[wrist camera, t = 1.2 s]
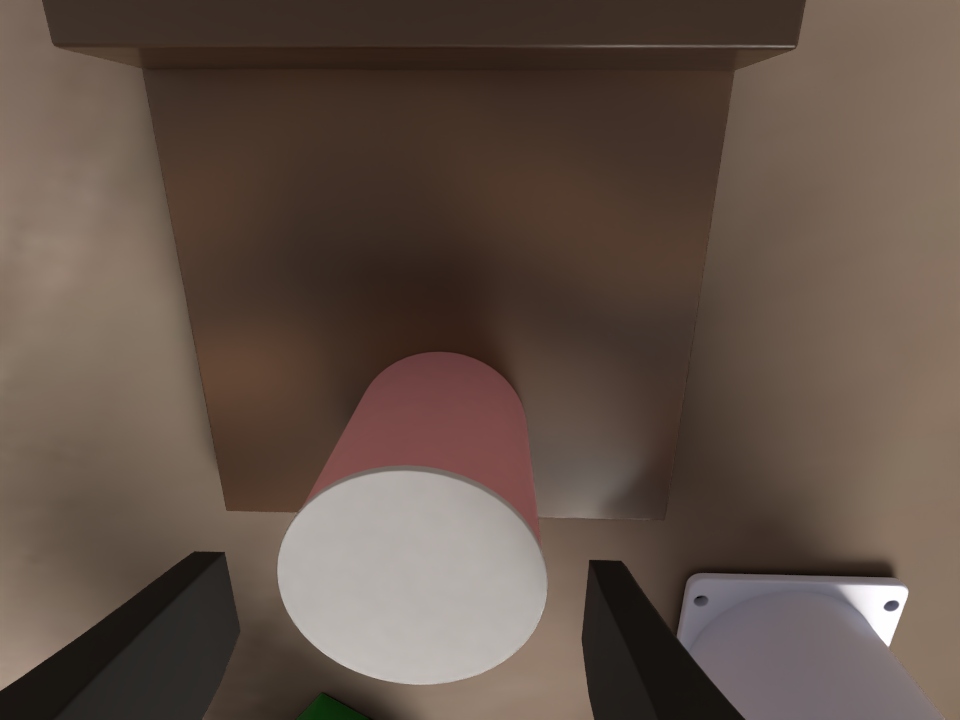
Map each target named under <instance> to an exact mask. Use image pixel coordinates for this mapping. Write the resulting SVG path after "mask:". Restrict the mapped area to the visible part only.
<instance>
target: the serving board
mask: <svg viewBox="0 0 960 720" xmlns="http://www.w3.org/2000/svg"><path fill="white" fill-rule="evenodd" d="M42 2H43V6H44V11H45V15H46V19H47V23H48V27H49V31H50V36H51V40H52V43H53V44H54V46H56V47H58V48H61V49H65V50H69V51H74V52H78V53H82V54H86V55H90V56H94V57H98V58H102V59H106V60H110V61H114V62H118V63H122V64H126V65H130V66H135V67H139V68H142V70H143V75H144V80H145V86H146V91H147V96H148V101H149V107H150V112H151V117H152V122H153V128H154V133H155V138H156V143H157V149H158V154H159V159H160V164H161V170H162V175H163V180H164V185H165V191H166V196H167V201H168V206H169V212H170V217H171V222H172V227H173V233H174V238H175V243H176V248H177V254H178V259H179V264H180V269H181V275H182V280H183V285H184V290H185V296H186V301H187V306H188V311H189V317H190V322H191V327H192V332H193V338H194V343H195V348H196V353H197V359H198V364H199V369H200V374H201V380H202V385H203V390H204V395H205V401H206V406H207V411H208V416H209V422H210V427H211V432H212V437H213V443H214V448H215V453H216V458H217V464H218V469H219V474H220V479H221V485H222V490H223V495H224V500H225V506H226V510H227V511H258V512H298V511H299V510H300V509H301V508H302V507H303V505H304V503H305V501H306V499H307V498H308V496H309V494H310V492H311V490H312V488H313V487H314V485H315V483H316V481H317V479H318V477H319V476H320V474H321V472H322V470H323V468H324V466H325V465H326V463H327V461H328V459H329V457H330V455H331V454H332V452H333V450H334V448H335V446H336V445H337V443H338V441H339V439H340V437H341V435H342V434H343V432H344V430H345V428H346V426H347V424H348V423H349V421H350V419H351V417H352V415H353V413H354V412H355V410H356V408H357V406H358V404H359V402H360V401H361V399H362V397H363V395H364V393H365V392H366V390H367V388H368V387H369V385H370V384H371V383H372V381H373V380H374V379H375V378H376V377H377V376H378V375H379V374H380V373H381V372H382V371H384V370H385V369H386V368H387V367H389V366H391V365H392V364H394V363H395V362H397V361H400V360H402V359H404V358H406V357H409V356H413V355H416V354H421V353H427V352H451V353H457V354H462V355H465V356H468V357H471V358H474V359H476V360H479V361H481V362H483V363H485V364H486V365H488V366H490V367H491V368H493V369H494V370H496V371H497V372H498V373H499V374H500V375H501V376H503V377H504V378H505V379H506V381H507V382H508V383H509V384H510V385H511V386H512V388H513V389H514V391H515V392H516V394H517V395H518V397H519V399H520V401H521V403H522V406H523V409H524V412H525V417H526V422H527V430H528V438H529V447H530V455H531V464H532V472H533V480H534V489H535V497H536V506H537V514H538V518H577V519H623V520H665V517H666V511H667V504H668V498H669V491H670V485H671V478H672V472H673V465H674V459H675V452H676V446H677V439H678V433H679V427H680V420H681V414H682V407H683V401H684V394H685V388H686V381H687V375H688V368H689V362H690V355H691V349H692V343H693V336H694V330H695V323H696V317H697V310H698V304H699V297H700V291H701V284H702V278H703V271H704V265H705V259H706V252H707V246H708V239H709V233H710V226H711V220H712V213H713V207H714V200H715V194H716V187H717V181H718V175H719V168H720V162H721V155H722V149H723V142H724V136H725V129H726V123H727V116H728V110H729V103H730V97H731V91H732V84H733V78H734V71H735V70H737V69H740V68H743V67H746V66H749V65H751V64H754V63H757V62H760V61H763V60H766V59H768V58H771V57H774V56H777V55H780V54H782V53H785V52H788V51H791V50H793V49H795V48H796V46H797V44H798V40H799V34H800V29H801V24H802V18H803V13H804V8H805V2H806V0H42Z"/></svg>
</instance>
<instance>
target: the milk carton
mask: <svg viewBox="0 0 960 720" xmlns="http://www.w3.org/2000/svg"><path fill="white" fill-rule="evenodd" d="M296 720H370V719H368V718H367V717H365V716H363V715H361V714H359V713H358V712H356V711H354V710H352V709H350V708H348V707H347V706H345V705H343V704H341V703H339V702H338V701H336V700H334V699H332V698H330V697H328V696H327V695H325V694H323V693H321V694H320V695H319V696H318V697H317V698H316V699H315V700H314V701H313V702H312V703H311V704H310V705H309V707H308V708H307V709H306V710H305V711H304V712H303V713H302V714H301V715H300V716H299V717H298V718H297V719H296Z"/></svg>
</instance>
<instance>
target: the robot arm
mask: <svg viewBox="0 0 960 720" xmlns="http://www.w3.org/2000/svg"><path fill="white" fill-rule="evenodd" d="M908 591H909V590H908V588H907V587H906V586H905V585H904V583H903V582H902V581H900V580H899V579H897V578H888V577H847V576H805V575H763V574H721V573H698V574H695V575H692V576H691V577H690V578H689V579H688V581H687V583H686V588H685V593H684V599H683V604H682V610H681V615H680V621H679V626H678V632H677V637H676V636H675V635H674V633H673V632H672V631H671V629H670V628H669V627H668V625H667V624H666V623H665V621H664V620H663V619H662V617H661V616H660V615H659V613H658V612H657V610H656V609H655V608H654V606H653V605H652V603H651V602H650V601H649V599H648V598H647V596H646V595H645V594H644V592H643V591H642V589H641V588H640V586H639V585H638V583H637V582H636V580H635V579H634V577H633V576H632V574H631V573H630V571H629V570H628V568H627V567H626V566H625V564H624V563H623V562H622V561H610V560H589V570H588V580H587V590H586V600H585V610H584V620H583V631H582V646H583V654H584V662H585V670H586V678H587V685H588V693H589V698H590V702H591V707H592V711H593V716H594V720H946V719H945V718H944V716H943V715H942V714H941V713H940V711H939V710H938V709H937V708H936V706H935V705H934V704H933V703H932V701H931V700H930V699H929V698H928V696H927V695H926V694H925V693H924V691H923V690H922V689H921V688H920V686H919V685H918V684H917V683H916V681H915V680H914V679H913V678H912V676H911V675H910V674H909V673H908V671H907V670H906V669H905V668H904V666H903V665H902V664H901V663H900V661H899V660H898V659H897V658H896V656H895V655H894V654H893V653H892V651H891V650H890V649H889V645H890V642H891V640H892V637H893V634H894V632H895V629H896V626H897V623H898V621H899V618H900V615H901V613H902V610H903V607H904V604H905V602H906V599H907V596H908ZM698 596H702V597H700V598H696V597H698ZM239 633H240V626H239V621H238V616H237V611H236V606H235V601H234V596H233V591H232V586H231V581H230V576H229V571H228V566H227V561H226V556H225V552H197V551H194V552H193V553H191V554H190V555H189V556H187V557H186V558H184V559H183V560H181V561H180V562H179V563H177V564H176V565H175V566H173V567H172V568H171V569H169V570H168V571H167V572H165V573H164V574H163V575H161V576H160V577H159V578H157V579H156V580H155V581H153V582H152V583H151V584H149V585H148V586H147V587H145V588H144V589H143V590H141V591H140V592H139V593H137V594H136V595H135V596H134V597H132V598H131V599H130V600H128V601H127V602H126V603H124V604H123V605H121V606H120V607H119V608H117V609H116V610H115V611H113V612H112V613H111V614H109V615H108V616H107V617H105V618H104V619H103V620H101V621H100V622H99V623H97V624H96V625H95V626H93V627H92V628H91V629H89V630H88V631H87V632H85V633H84V634H82V635H81V636H80V637H78V638H77V639H75V640H74V641H72V642H71V643H70V644H68V645H67V646H65V647H64V648H62V649H61V650H59V651H58V652H57V653H55V654H54V655H52V656H51V657H49V658H48V659H47V660H45V661H44V662H42V663H41V664H39V665H38V666H37V667H35V668H34V669H32V670H31V671H29V672H28V673H27V674H25V675H24V676H22V677H21V678H19V679H18V680H16V681H15V682H13V683H12V684H10V685H9V686H7V687H6V688H4V689H3V690H1V691H0V720H202V718H203V716H204V714H205V712H206V710H207V708H208V706H209V704H210V702H211V701H212V699H213V697H214V695H215V693H216V691H217V689H218V687H219V685H220V682H221V680H222V677H223V675H224V672H225V670H226V667H227V665H228V662H229V660H230V657H231V654H232V652H233V649H234V646H235V644H236V641H237V638H238V636H239Z"/></svg>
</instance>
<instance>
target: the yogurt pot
mask: <svg viewBox="0 0 960 720" xmlns="http://www.w3.org/2000/svg"><path fill="white" fill-rule="evenodd" d="M277 577H278V586H279V590H280V594H281V598H282V600H283V603H284V605H285V608H286V610H287V612H288V614H289V615H290V617H291V619H292V620H293V622H294V624H295V625H296V626H297V628H298V629H299V630H300V631H301V633H302V634H303V635H304V636H305V637H306V638H307V639H308V640H309V641H310V642H311V643H312V644H313V645H314V646H315V647H316V648H318V649H319V650H320V651H321V652H323V653H324V654H325V655H326V656H328V657H330V658H331V659H333V660H334V661H336V662H338V663H339V664H341V665H343V666H345V667H347V668H349V669H351V670H353V671H356V672H359V673H361V674H364V675H366V676H369V677H373V678H377V679H380V680H384V681H390V682H396V683H403V684H416V685H420V684H439V683H448V682H453V681H457V680H462V679H466V678H469V677H472V676H475V675H478V674H480V673H482V672H485V671H487V670H489V669H491V668H493V667H495V666H496V665H498V664H500V663H501V662H503V661H505V660H506V659H507V658H509V657H510V656H511V655H512V654H514V653H515V652H516V651H517V650H518V649H519V648H520V647H521V646H522V645H523V644H524V643H525V642H526V641H527V640H528V638H529V637H530V635H531V634H532V633H533V631H534V630H535V628H536V626H537V624H538V622H539V620H540V618H541V616H542V613H543V610H544V607H545V604H546V597H547V591H548V584H547V569H546V564H545V558H544V555H543V552H542V548H541V539H540V531H539V522H538V514H537V506H536V497H535V489H534V480H533V472H532V464H531V455H530V447H529V438H528V430H527V422H526V417H525V412H524V409H523V406H522V403H521V401H520V399H519V397H518V395H517V394H516V392H515V391H514V389H513V388H512V386H511V385H510V384H509V383H508V382H507V381H506V379H505V378H504V377H503V376H501V375H500V374H499V373H498V372H497V371H496V370H494V369H493V368H491V367H490V366H488V365H486V364H485V363H483V362H481V361H479V360H476V359H474V358H471V357H468V356H465V355H462V354H457V353H451V352H427V353H421V354H416V355H413V356H409V357H406V358H404V359H402V360H400V361H397V362H395V363H394V364H392V365H391V366H389V367H387V368H386V369H385V370H384V371H382V372H381V373H380V374H379V375H378V376H377V377H376V378H375V379H374V380H373V381H372V383H371V384H370V385H369V387H368V388H367V390H366V392H365V393H364V395H363V397H362V399H361V401H360V402H359V404H358V406H357V408H356V410H355V412H354V413H353V415H352V417H351V419H350V421H349V423H348V424H347V426H346V428H345V430H344V432H343V434H342V435H341V437H340V439H339V441H338V443H337V445H336V446H335V448H334V450H333V452H332V454H331V455H330V457H329V459H328V461H327V463H326V465H325V466H324V468H323V470H322V472H321V474H320V476H319V477H318V479H317V481H316V483H315V485H314V487H313V488H312V490H311V492H310V494H309V496H308V498H307V499H306V501H305V503H304V505H303V507H302V508H301V509H300V510H299V511H298V513H297V514H296V516H295V517H294V519H293V520H292V522H291V523H290V525H289V527H288V529H287V531H286V533H285V535H284V538H283V540H282V543H281V546H280V550H279V554H278V563H277Z"/></svg>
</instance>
